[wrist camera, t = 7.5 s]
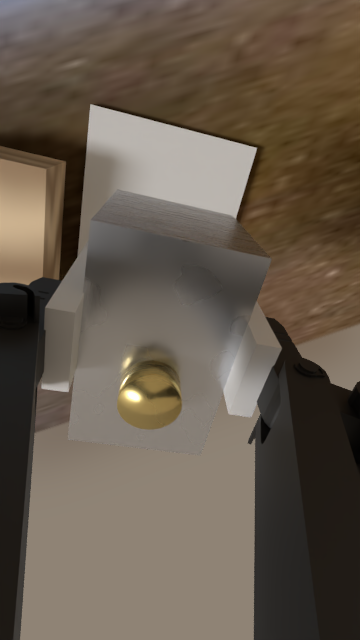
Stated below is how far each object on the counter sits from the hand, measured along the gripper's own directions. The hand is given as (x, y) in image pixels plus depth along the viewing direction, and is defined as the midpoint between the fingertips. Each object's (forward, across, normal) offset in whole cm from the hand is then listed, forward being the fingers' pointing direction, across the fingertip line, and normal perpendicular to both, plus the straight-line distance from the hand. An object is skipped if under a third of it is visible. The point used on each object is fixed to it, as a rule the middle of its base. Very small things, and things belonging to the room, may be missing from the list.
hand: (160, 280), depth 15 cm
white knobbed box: (+1, 0, -1) cm, 1 cm away
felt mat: (+14, 0, 0) cm, 14 cm away
